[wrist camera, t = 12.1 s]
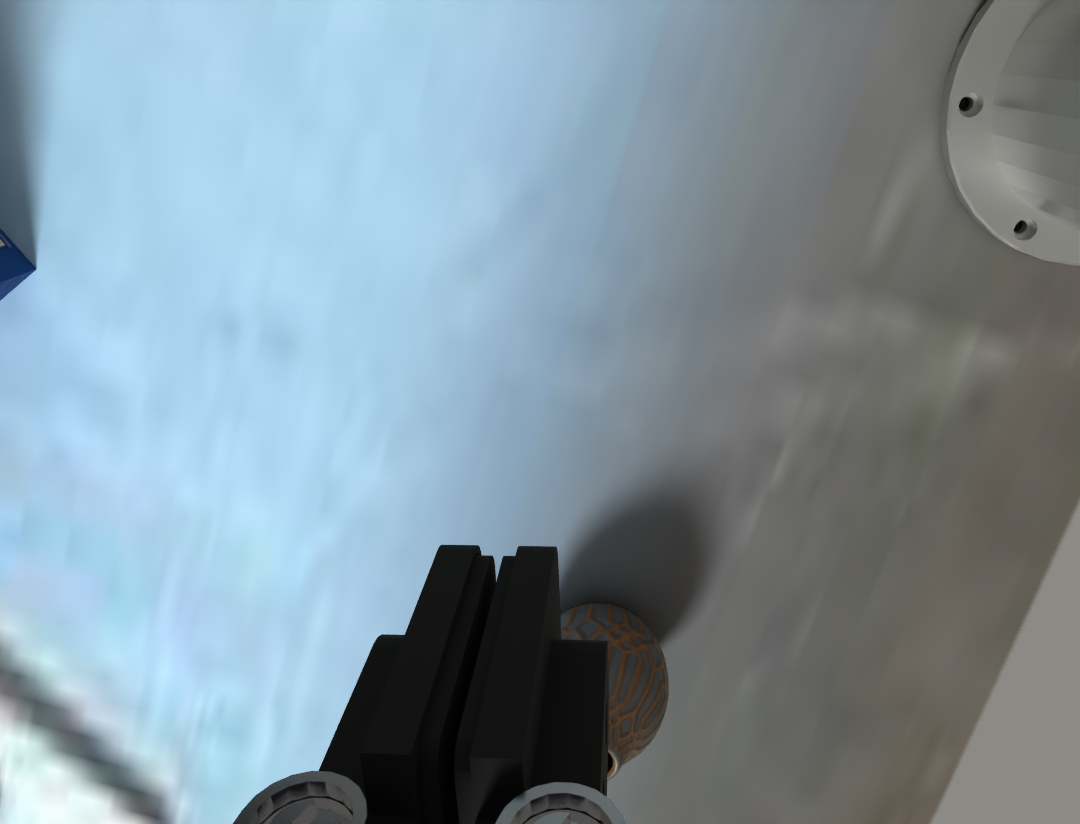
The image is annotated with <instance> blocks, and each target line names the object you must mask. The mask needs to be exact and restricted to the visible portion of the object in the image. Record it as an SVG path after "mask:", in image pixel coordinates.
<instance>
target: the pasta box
mask: <svg viewBox="0 0 1080 824" xmlns="http://www.w3.org/2000/svg"><path fill="white" fill-rule="evenodd" d="M35 270H36V268H35V267H34V266H33V265H32V263H31V262H30V261H29V260H28V259H27V258H26V257H25V256H24V255H23V253H22V252H21V251H20V250H19V249H18V248H17V247H16V246H15V244H14V243H13V242H12V241H11V240H10V239H9V238H8V237H7V236H6V234H5V233H4V232H3V231H2V230H1V229H0V300H1V299H3V298H4V297H5V296H6V295H7V294H8V293H9V292H11V291H12V290H13V289H14V288H15V287H16V286H18V285H19V284H20V283H21V282H22V281H23V280H25V279H26V278H27V277H28V276H29V275H30V274H31V273H33V272H34V271H35Z"/></svg>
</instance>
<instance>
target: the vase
mask: <svg viewBox="0 0 1080 824" xmlns="http://www.w3.org/2000/svg"><path fill="white" fill-rule="evenodd" d="M560 617H561V639H564V640H600V641H608V661H609V741H608V770H607V781H608V780H610V779H611V778H613V777H614V776H615V775H616V774H617V773H618V771H619V770H620V768H621V766H622V765H623V764H625V763H627V762H628V761H630V760H631V759H633V758H634V757H636V756H637V755H638V754H640V753H641V752H642V751H643V750H644V749H645V748H646V747H647V746H648V745H649V744H650V742H651V741H652V739H653V738H654V736H655V735H656V733H657V731H658V729H659V727H660V725H661V722H662V720H663V717H664V714H665V710H666V707H667V701H668V687H669V685H668V673H667V667H666V662H665V658H664V655H663V652H662V650H661V647H660V645H659V643H658V641H657V639H656V638H655V636H654V634H653V633H652V632H651V630H650V629H649V628H648V627H647V626H646V624H645V623H644V622H643V621H642V620H641V619H639V618H638V617H637V616H636V615H634V614H633V613H631V612H629V611H627V610H625V609H623V608H620V607H617V606H614V605H610V604H604V603H590V604H584V605H580V606H576V607H573V608H571V609H569V610H567V611H565V612H563V613H562V614H560Z"/></svg>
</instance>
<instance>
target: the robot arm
mask: <svg viewBox="0 0 1080 824" xmlns="http://www.w3.org/2000/svg"><path fill="white" fill-rule="evenodd" d="M964 97H967V98H968V99H969V105H968V107H967V108H966V109H965V110H962V111H961V110H960V109H959V103H960V101H961V99H962V98H964ZM940 129H941V148H942V152H943V157H944V162H945V166H946V171H947V174H948V176H949V179H950V181H951V183H952V185H953V187H954V189H955V192H956V194H957V196H958V198H959V200H960V201H961V202H962V204H963V205H964V206H965V208H966V209H967V210H968V212H969V213H970V214H971V215H972V217H973V218H974V219H975V221H976V222H977V223H979V224H980V225H981V226H982V227H984V228H985V229H986V230H987V231H988V232H990V233H991V234H992V235H993V236H994V237H996V238H997V239H998V240H1000V241H1002V242H1004V243H1005V244H1007V245H1009V246H1011V247H1013V248H1014V249H1016V250H1018V251H1021V252H1024V253H1026V254H1029V255H1032V256H1034V257H1037V258H1039V259H1042V260H1045V261H1051V262H1057V263H1063V264H1069V265H1080V0H987V1H986V3H985V4H984V5H983V6H982V8H981V9H980V10H979V12H978V13H977V14H976V16H975V18H974V19H973V21H972V23H971V25H970V26H969V28H968V30H967V32H966V34H965V35H964V37H963V39H962V41H961V42H960V44H959V46H958V48H957V51H956V54H955V57H954V59H953V62H952V65H951V68H950V70H949V73H948V76H947V79H946V83H945V89H944V95H943V100H942V106H941V111H940ZM1021 220H1022V224H1023V225H1022V227H1021V228H1020V229H1019V230H1018V231H1014V228H1015V226H1016V224H1017V223H1018V222H1019V221H1021ZM608 741H609V661H608V641H600V640H564V639H561V617H560V594H559V570H558V552H557V547H545V546H519V547H518V549H517V552H516V556H503V559H502V562H501V566H500V570H499V574H498V578H497V582H496V574H495V563H494V558H493V556H481V550H480V547H479V546H478V545H440V547H439V548H438V551H437V553H436V556H435V558H434V561H433V564H432V566H431V569H430V571H429V574H428V576H427V579H426V582H425V584H424V587H423V589H422V592H421V594H420V597H419V600H418V602H417V605H416V607H415V610H414V613H413V615H412V618H411V620H410V623H409V625H408V628H407V631H406V633H405V635H383V634H382V635H380V636H379V637H378V638H377V639H376V641H375V643H374V644H373V647H372V649H371V651H370V654H369V656H368V658H367V661H366V663H365V665H364V667H363V670H362V672H361V674H360V677H359V679H358V681H357V684H356V686H355V688H354V690H353V693H352V695H351V697H350V700H349V702H348V704H347V707H346V709H345V711H344V714H343V716H342V718H341V720H340V723H339V725H338V727H337V730H336V732H335V734H334V737H333V739H332V741H331V744H330V746H329V748H328V750H327V753H326V755H325V757H324V760H323V762H322V764H321V767H320V769H319V771H310V772H305V773H300V774H295V775H291V776H289V777H286V778H284V779H282V780H279V781H277V782H275V783H273V784H271V785H270V786H268V787H267V788H266V789H264V790H263V791H261V792H260V793H258V794H257V795H256V796H255V797H254V798H253V799H252V800H251V801H250V802H249V803H248V804H247V806H246V807H245V808H244V809H243V810H242V811H241V813H240V814H239V816H238V817H237V818H236V820H235V821H234V823H233V824H626V822H625V819H624V816H623V814H622V812H621V811H620V810H619V809H618V808H617V806H616V805H615V804H614V803H613V801H612V800H611V799H609V798H608V797H607V770H608Z"/></svg>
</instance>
